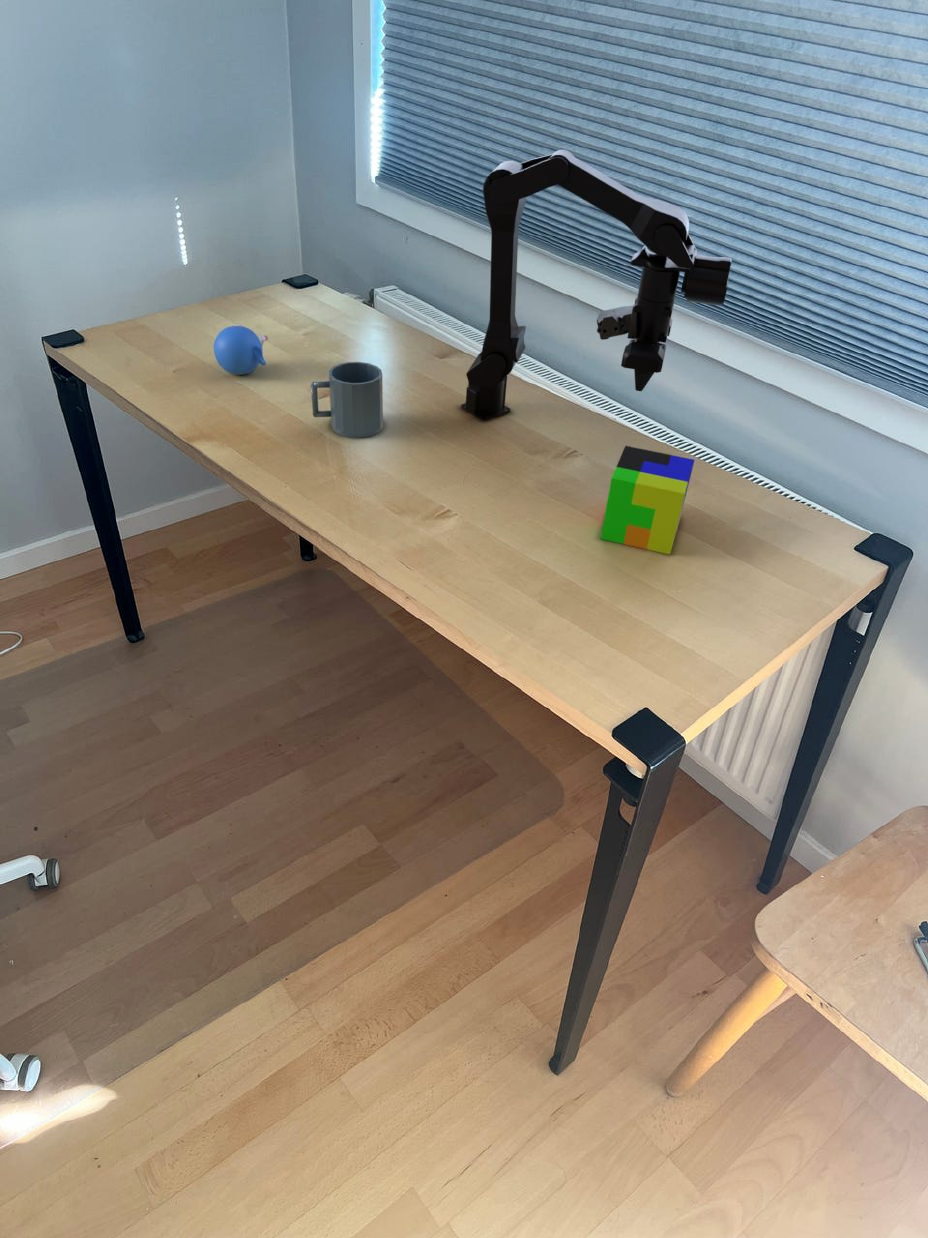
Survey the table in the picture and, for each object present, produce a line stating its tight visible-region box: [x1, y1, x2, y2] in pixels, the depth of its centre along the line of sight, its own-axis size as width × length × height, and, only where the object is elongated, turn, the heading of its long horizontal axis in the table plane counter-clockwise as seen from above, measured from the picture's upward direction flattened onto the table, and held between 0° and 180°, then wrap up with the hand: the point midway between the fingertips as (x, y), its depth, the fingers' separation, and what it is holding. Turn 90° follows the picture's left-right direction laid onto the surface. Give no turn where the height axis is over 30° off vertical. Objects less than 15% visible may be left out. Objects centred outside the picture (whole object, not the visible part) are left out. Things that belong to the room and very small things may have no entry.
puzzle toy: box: [600, 445, 695, 555], centre depth 127 cm, size 10×10×10 cm
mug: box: [310, 361, 384, 439], centre depth 147 cm, size 12×9×10 cm
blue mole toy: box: [213, 325, 269, 376], centre depth 163 cm, size 12×12×8 cm
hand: (638, 390), depth 148 cm, fingers closed
